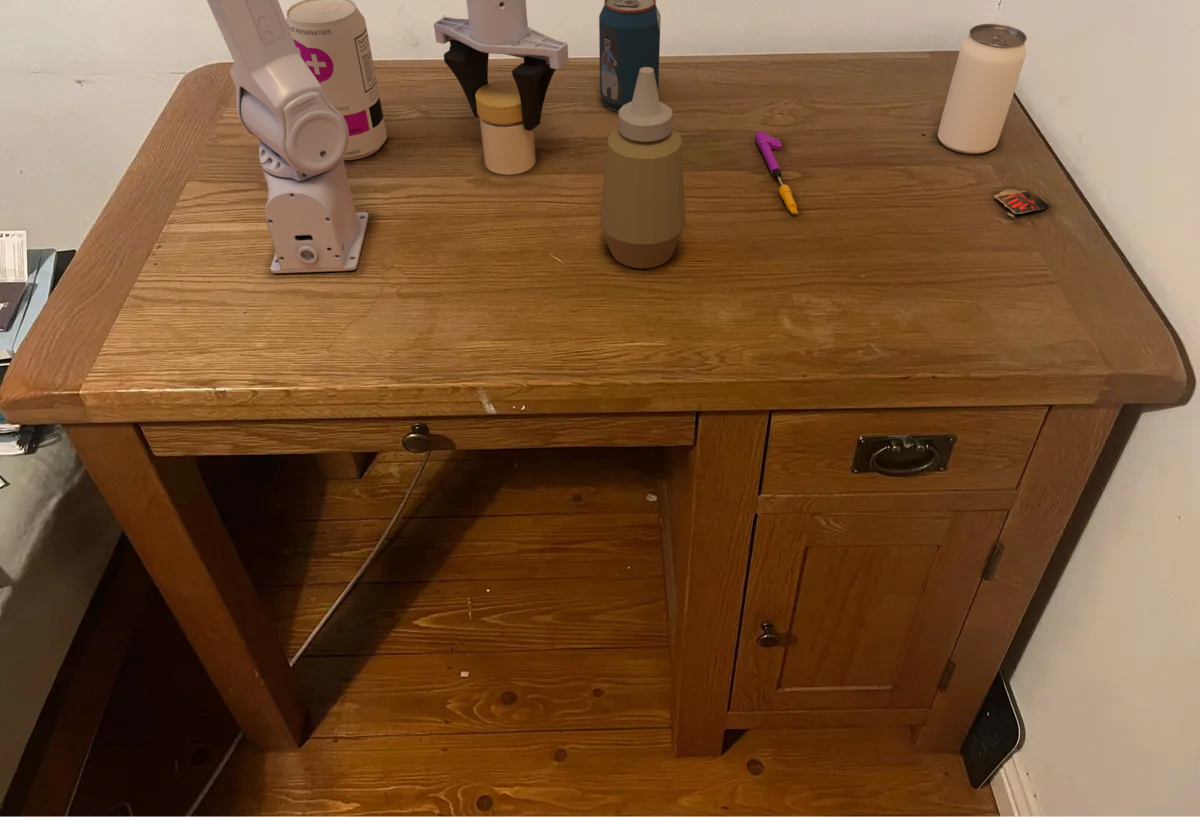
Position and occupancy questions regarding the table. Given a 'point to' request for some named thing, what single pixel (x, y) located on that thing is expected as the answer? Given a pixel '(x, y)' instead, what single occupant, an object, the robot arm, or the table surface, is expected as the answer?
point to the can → (982, 88)
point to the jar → (507, 147)
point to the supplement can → (341, 67)
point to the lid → (499, 102)
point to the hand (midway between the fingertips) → (507, 119)
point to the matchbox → (1021, 201)
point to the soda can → (627, 47)
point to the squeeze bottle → (643, 181)
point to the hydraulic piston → (775, 167)
